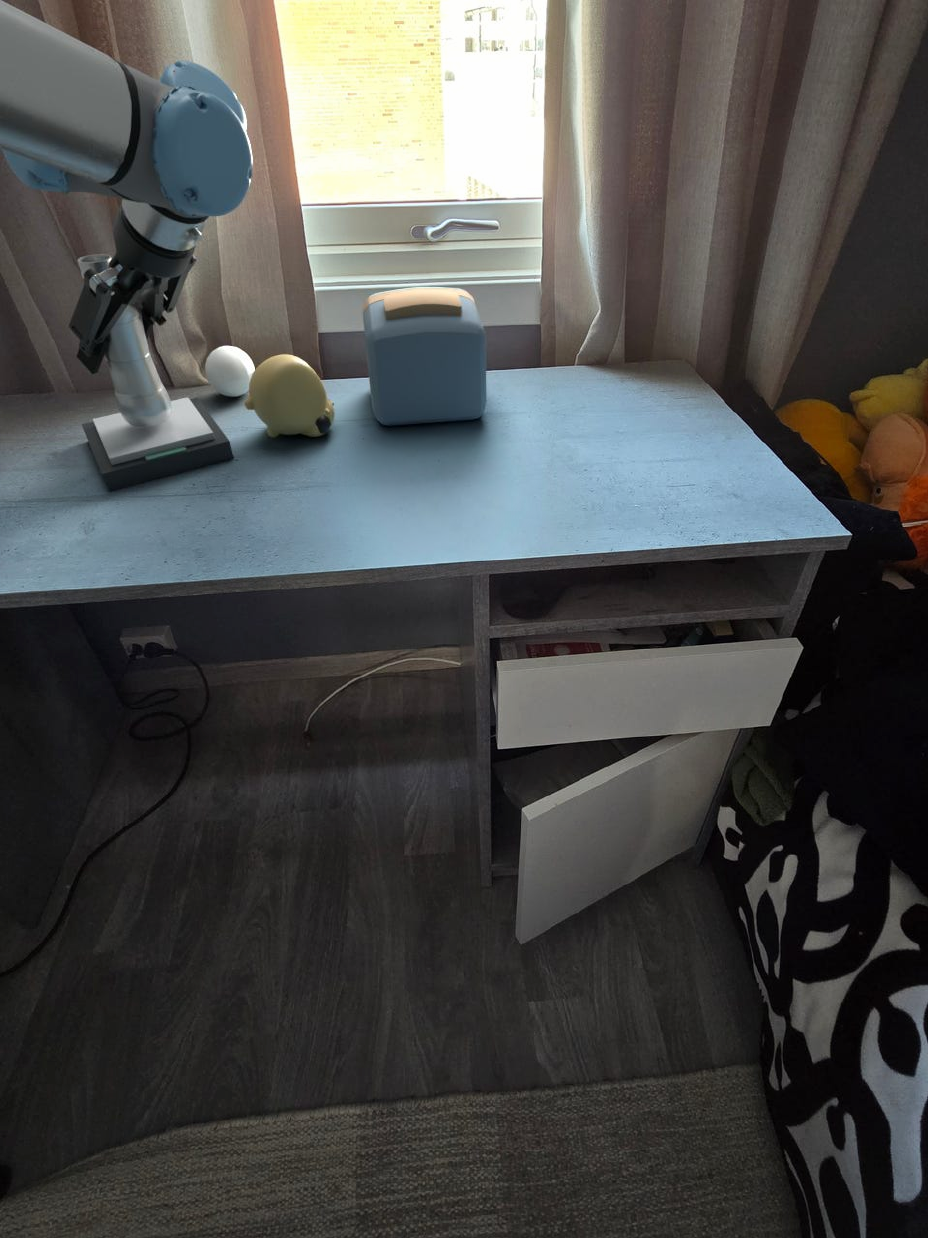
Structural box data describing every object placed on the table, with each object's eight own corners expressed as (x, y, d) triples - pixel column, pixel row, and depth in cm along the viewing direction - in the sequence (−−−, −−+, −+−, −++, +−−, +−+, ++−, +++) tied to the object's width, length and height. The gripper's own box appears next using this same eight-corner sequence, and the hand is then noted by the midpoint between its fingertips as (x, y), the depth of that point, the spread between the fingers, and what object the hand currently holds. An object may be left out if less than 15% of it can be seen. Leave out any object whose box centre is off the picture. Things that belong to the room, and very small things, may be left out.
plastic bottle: (147, 438, 88) (88, 269, 75) (113, 426, 91) (50, 261, 78) (186, 418, 92) (137, 255, 79) (153, 407, 95) (99, 248, 82)
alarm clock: (472, 377, 111) (471, 270, 100) (488, 422, 99) (489, 306, 88) (370, 384, 109) (359, 277, 99) (374, 431, 97) (362, 314, 87)
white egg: (256, 403, 105) (245, 355, 100) (207, 405, 105) (193, 357, 100) (267, 377, 112) (257, 331, 107) (221, 378, 112) (209, 332, 107)
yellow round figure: (298, 469, 97) (348, 421, 92) (225, 412, 91) (274, 357, 86) (307, 434, 104) (354, 388, 99) (240, 379, 98) (286, 327, 93)
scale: (108, 491, 86) (98, 466, 84) (88, 440, 97) (78, 417, 94) (234, 458, 92) (227, 433, 90) (202, 413, 103) (195, 390, 100)
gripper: (111, 278, 65) (67, 408, 82) (249, 233, 77) (186, 354, 94) (51, 209, 64) (19, 356, 81) (202, 174, 76) (146, 308, 93)
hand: (109, 354), depth 87 cm, fingers closed on plastic bottle, 6 cm apart
